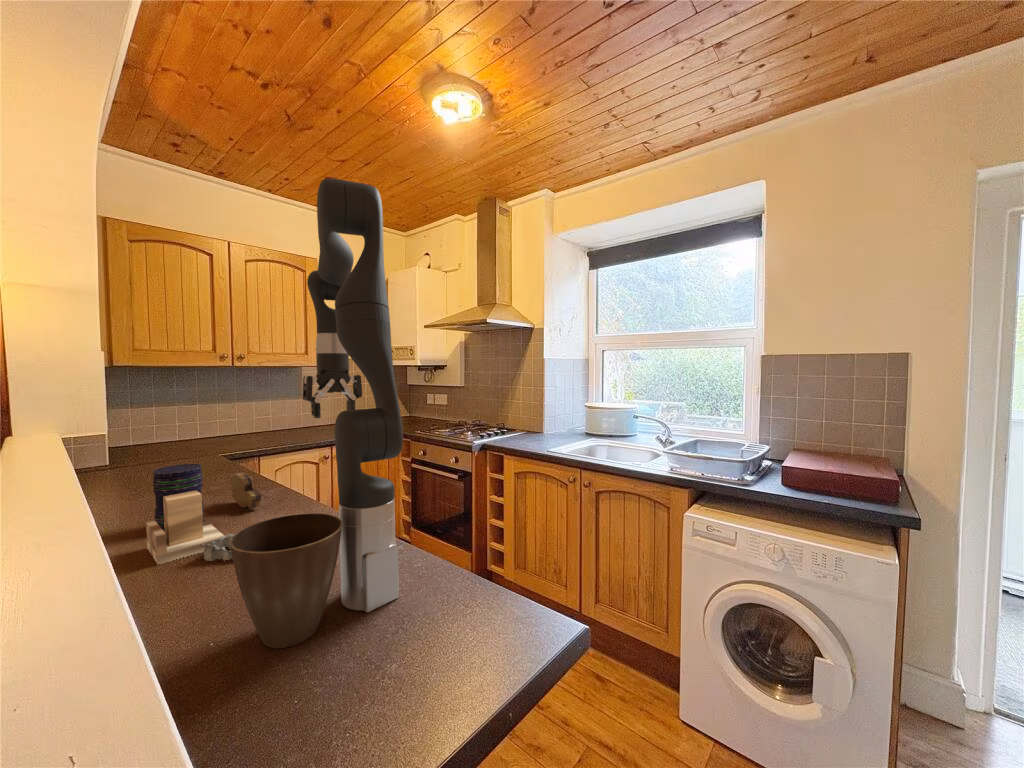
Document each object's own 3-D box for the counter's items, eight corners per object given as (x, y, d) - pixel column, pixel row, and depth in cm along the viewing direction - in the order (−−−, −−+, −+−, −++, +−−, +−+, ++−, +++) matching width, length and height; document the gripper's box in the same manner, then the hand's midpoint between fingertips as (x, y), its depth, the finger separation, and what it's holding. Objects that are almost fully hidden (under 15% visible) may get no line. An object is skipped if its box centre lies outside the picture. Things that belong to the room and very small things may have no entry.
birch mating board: (226, 545, 94) (225, 519, 94) (157, 565, 85) (156, 536, 85) (211, 532, 102) (210, 508, 102) (147, 548, 93) (145, 522, 93)
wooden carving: (269, 509, 119) (267, 474, 118) (252, 514, 115) (250, 478, 114) (240, 499, 127) (239, 467, 127) (223, 503, 124) (222, 470, 123)
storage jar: (183, 533, 101) (180, 473, 101) (143, 533, 101) (141, 473, 101) (213, 518, 111) (211, 463, 111) (177, 518, 111) (175, 463, 111)
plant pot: (317, 594, 74) (315, 506, 73) (363, 627, 65) (360, 526, 64) (218, 637, 62) (214, 533, 62) (256, 685, 53) (252, 562, 52)
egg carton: (197, 564, 86) (196, 544, 86) (221, 548, 94) (220, 530, 94) (250, 562, 87) (249, 543, 87) (269, 546, 94) (268, 528, 94)
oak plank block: (203, 537, 94) (201, 494, 94) (169, 546, 89) (167, 500, 89) (197, 532, 97) (196, 490, 97) (165, 540, 92) (163, 496, 92)
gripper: (310, 351, 96) (312, 420, 97) (366, 352, 107) (368, 414, 108) (296, 352, 101) (298, 418, 102) (351, 353, 112) (353, 412, 112)
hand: (334, 416), depth 105 cm, fingers open, 8 cm apart
